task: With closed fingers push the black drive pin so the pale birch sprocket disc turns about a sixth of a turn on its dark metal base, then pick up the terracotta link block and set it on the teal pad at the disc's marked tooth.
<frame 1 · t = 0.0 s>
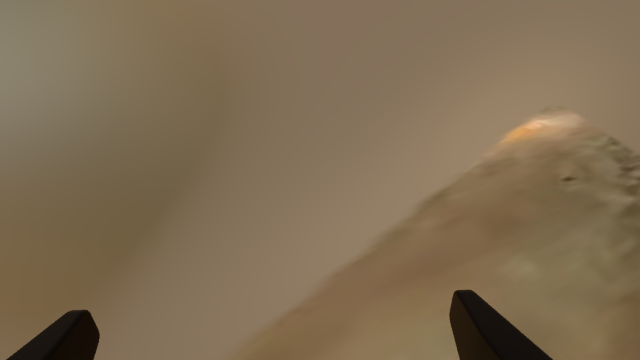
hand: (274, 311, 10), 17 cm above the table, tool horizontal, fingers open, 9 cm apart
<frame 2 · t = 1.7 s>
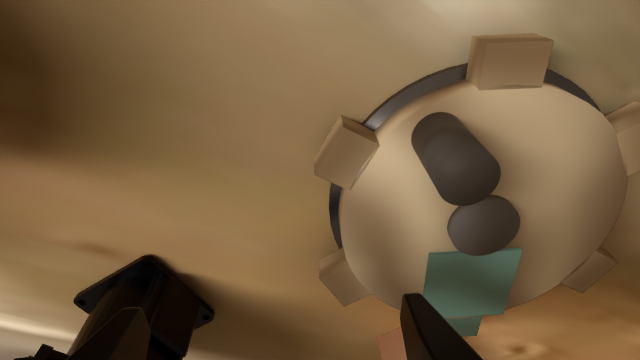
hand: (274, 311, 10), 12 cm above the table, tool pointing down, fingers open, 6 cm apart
sprocket disc: (490, 236, 20), point 4 cm above the table, hinge at 0.0°
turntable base: (465, 199, 23), on the table
link block: (412, 340, 29), on the table
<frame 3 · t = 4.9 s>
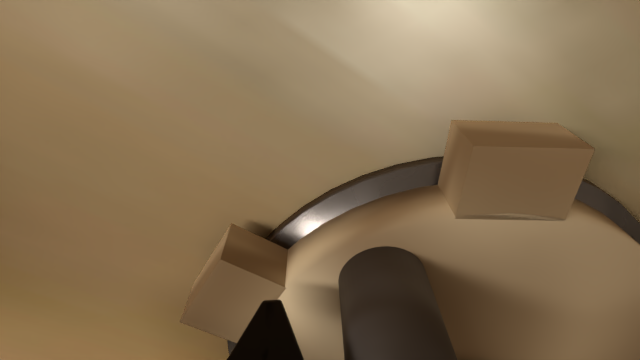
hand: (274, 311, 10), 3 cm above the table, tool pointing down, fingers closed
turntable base: (433, 336, 15), on the table
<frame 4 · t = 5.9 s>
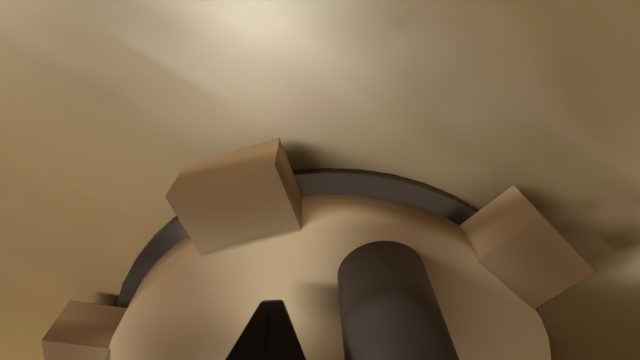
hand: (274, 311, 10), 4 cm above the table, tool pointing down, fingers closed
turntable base: (327, 345, 16), on the table
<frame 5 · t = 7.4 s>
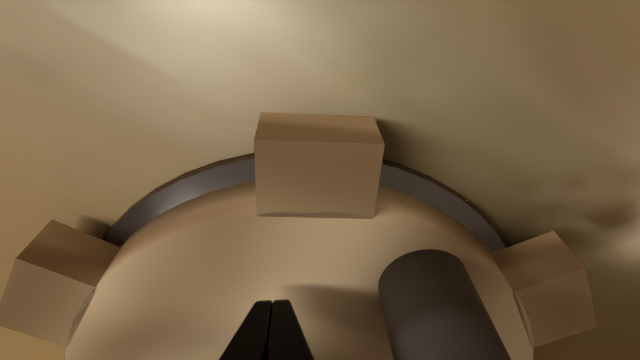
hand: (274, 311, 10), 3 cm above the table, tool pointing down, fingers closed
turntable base: (304, 335, 15), on the table
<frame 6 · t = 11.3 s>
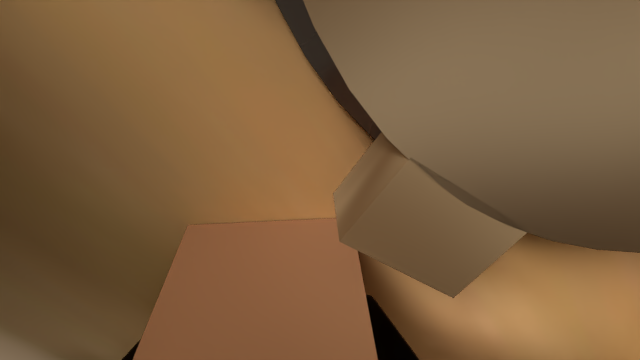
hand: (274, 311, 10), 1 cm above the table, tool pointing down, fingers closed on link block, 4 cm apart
link block: (276, 280, 11), on the table, touching gripper
when the fingers open (5 cm above the table, at t = 14.3 s): link block drops 1 cm, resting on sprocket disc.
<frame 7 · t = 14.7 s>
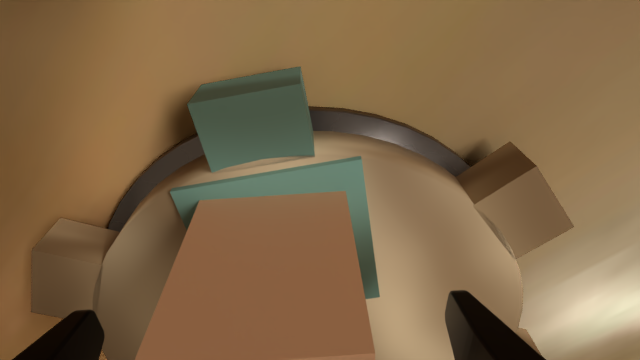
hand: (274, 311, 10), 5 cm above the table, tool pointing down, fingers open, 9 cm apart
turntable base: (311, 292, 16), on the table
link block: (280, 251, 12), point 2 cm above the table, touching sprocket disc
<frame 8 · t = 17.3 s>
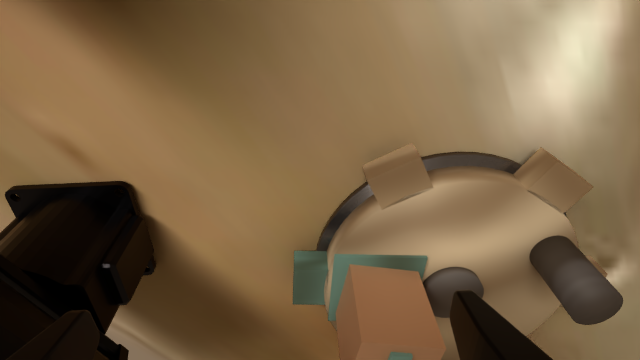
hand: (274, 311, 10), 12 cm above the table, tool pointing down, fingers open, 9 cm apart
sprocket disc: (456, 304, 22), point 4 cm above the table, hinge at 65.0°, touching link block
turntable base: (437, 262, 25), on the table
link block: (375, 293, 23), point 2 cm above the table, touching sprocket disc
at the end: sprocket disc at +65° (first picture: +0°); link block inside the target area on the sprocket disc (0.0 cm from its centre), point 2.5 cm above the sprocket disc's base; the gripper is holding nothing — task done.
